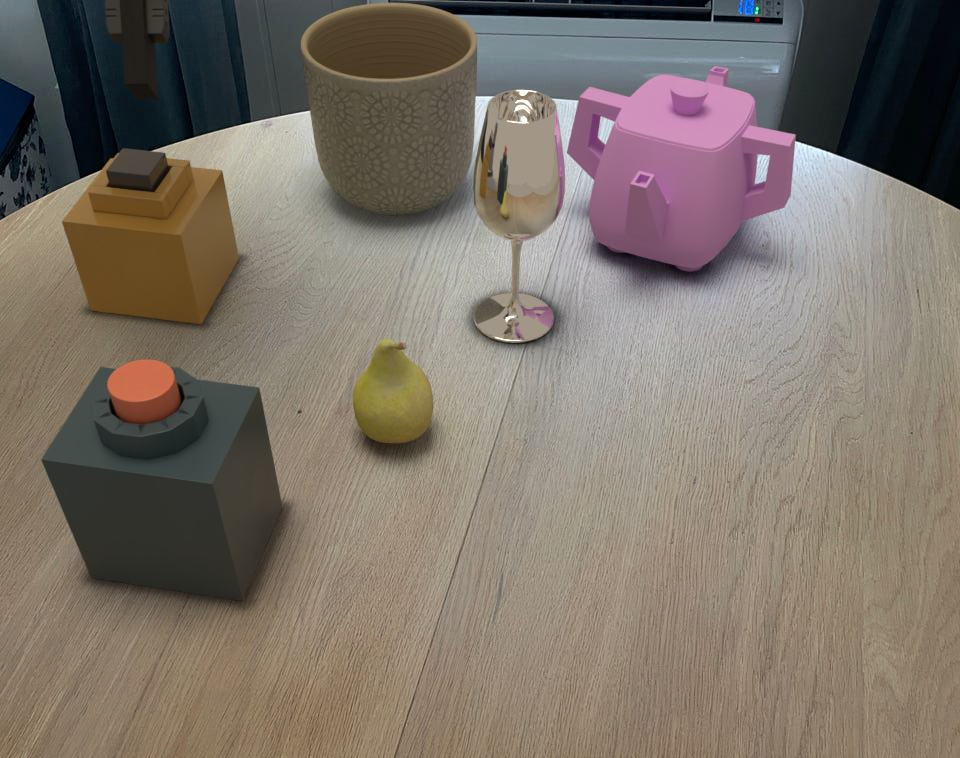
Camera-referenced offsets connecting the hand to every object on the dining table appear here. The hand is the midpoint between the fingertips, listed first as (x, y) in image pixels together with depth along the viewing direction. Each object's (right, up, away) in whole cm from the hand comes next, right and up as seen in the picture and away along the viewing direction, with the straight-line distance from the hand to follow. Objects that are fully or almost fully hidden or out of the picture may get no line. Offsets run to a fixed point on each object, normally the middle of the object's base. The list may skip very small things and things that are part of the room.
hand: (141, 91), depth 72 cm
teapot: (+42, +5, +38) cm, 57 cm away
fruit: (+16, -20, +19) cm, 32 cm away
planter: (+14, +11, +43) cm, 47 cm away
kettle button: (-8, +4, +24) cm, 26 cm away
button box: (0, -29, +11) cm, 31 cm away
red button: (0, -21, +1) cm, 21 cm away
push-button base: (-8, -2, +32) cm, 33 cm away
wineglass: (+26, -7, +29) cm, 40 cm away
